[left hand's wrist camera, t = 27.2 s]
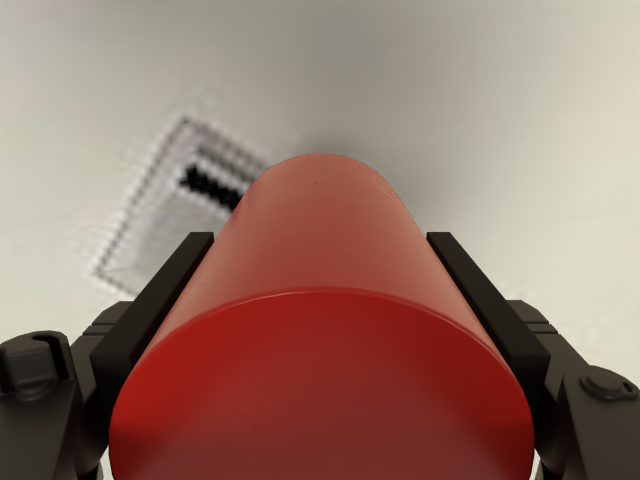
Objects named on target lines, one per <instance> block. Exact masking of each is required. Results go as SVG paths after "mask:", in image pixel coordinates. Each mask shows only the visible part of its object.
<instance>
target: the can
mask: <svg viewBox="0 0 640 480" xmlns="http://www.w3.org/2000/svg"><path fill="white" fill-rule="evenodd" d="M534 454H535V446H534V427H533V421H532V416H531V411H530V407H529V405H528V402H527V400H526V397H525V395H524V392H523V390H522V387H521V386H520V384H519V382H518V381H517V379H516V378H515V376H514V374H513V373H512V371H511V369H510V368H509V366H508V365H507V363H506V362H505V360H504V358H503V357H502V355H501V354H500V352H499V351H498V349H497V348H496V346H495V345H494V343H493V342H492V340H491V338H490V337H489V335H488V334H487V332H486V331H485V329H484V328H483V326H482V325H481V323H480V321H479V320H478V318H477V317H476V315H475V314H474V312H473V311H472V309H471V308H470V306H469V305H468V303H467V301H466V300H465V298H464V297H463V295H462V294H461V292H460V291H459V289H458V288H457V286H456V284H455V283H454V281H453V280H452V278H451V277H450V275H449V274H448V272H447V271H446V269H445V268H444V266H443V264H442V263H441V261H440V260H439V258H438V257H437V255H436V254H435V252H434V251H433V249H432V247H431V246H430V244H429V243H428V241H427V240H426V238H425V237H424V235H423V234H422V232H421V231H420V229H419V227H418V226H417V224H416V223H415V221H414V220H413V218H412V217H411V215H410V214H409V212H408V210H407V209H406V207H405V206H404V204H403V203H402V201H401V200H400V198H399V197H398V195H397V194H396V192H395V190H394V189H393V188H392V187H391V186H390V184H389V183H388V182H387V181H386V180H385V179H384V178H383V177H382V176H381V175H380V174H378V173H377V172H376V171H374V170H373V169H371V168H370V167H368V166H366V165H364V164H362V163H360V162H358V161H356V160H353V159H350V158H347V157H344V156H339V155H334V154H308V155H303V156H298V157H294V158H291V159H288V160H285V161H283V162H281V163H279V164H277V165H275V166H273V167H272V168H270V169H269V170H267V171H266V172H264V173H263V174H262V175H261V176H260V177H259V178H258V179H256V180H255V181H254V183H253V184H252V185H251V186H250V187H249V189H248V190H247V191H246V193H245V194H244V196H243V197H242V199H241V201H240V202H239V204H238V205H237V207H236V208H235V210H234V212H233V213H232V215H231V216H230V218H229V219H228V221H227V222H226V224H225V226H224V227H223V229H222V230H221V232H220V233H219V235H218V237H217V238H216V240H215V241H214V243H213V244H212V246H211V248H210V249H209V251H208V252H207V254H206V255H205V257H204V259H203V260H202V262H201V263H200V265H199V266H198V268H197V269H196V271H195V273H194V274H193V276H192V277H191V279H190V280H189V282H188V284H187V285H186V287H185V288H184V290H183V291H182V293H181V295H180V296H179V298H178V299H177V301H176V302H175V304H174V305H173V307H172V309H171V310H170V312H169V313H168V315H167V316H166V318H165V320H164V321H163V323H162V324H161V326H160V327H159V329H158V331H157V332H156V334H155V335H154V337H153V338H152V340H151V341H150V343H149V345H148V346H147V348H146V349H145V351H144V352H143V354H142V356H141V357H140V359H139V360H138V362H137V363H136V365H135V367H134V368H133V370H132V371H131V373H130V375H129V376H128V378H127V380H126V381H125V383H124V384H123V386H122V388H121V390H120V393H119V395H118V398H117V400H116V403H115V405H114V408H113V412H112V417H111V422H110V427H109V460H110V466H111V471H112V476H113V479H114V480H529V479H530V476H531V472H532V466H533V460H534Z"/></svg>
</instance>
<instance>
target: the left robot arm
mask: <svg viewBox="0 0 640 480" xmlns="http://www.w3.org/2000/svg"><path fill="white" fill-rule="evenodd" d="M426 240H427V241H428V243H429V244H430V246H431V247H432V249H433V251H434V252H435V254H436V255H437V257H438V258H439V260H440V261H441V263H442V264H443V266H444V268H445V269H446V271H447V272H448V274H449V275H450V277H451V278H452V280H453V281H454V283H455V284H456V286H457V288H458V289H459V291H460V292H461V294H462V295H463V297H464V298H465V300H466V301H467V303H468V305H469V306H470V308H471V309H472V311H473V312H474V314H475V315H476V317H477V318H478V320H479V321H480V323H481V325H482V326H483V328H484V329H485V331H486V332H487V334H488V335H489V337H490V338H491V340H492V342H493V343H494V345H495V346H496V348H497V349H498V351H499V352H500V354H501V355H502V357H503V358H504V360H505V362H506V363H507V365H508V366H509V368H510V369H511V371H512V373H513V374H514V376H515V378H516V379H517V381H518V382H519V384H520V386H521V387H522V390H523V392H524V395H525V397H526V400H527V402H528V405H529V407H530V411H531V416H532V421H533V427H534V446H535V449H536V451H537V453H538V454H539V456H540V462H539V465H538V469H537V473H536V476H535V480H640V390H639V389H638V387H637V386H636V385H634V384H633V383H632V382H630V381H629V380H628V379H626V378H625V377H623V376H621V375H619V374H617V373H615V372H613V371H611V370H608V369H604V368H601V367H598V366H593V365H589V364H588V363H587V362H586V361H585V360H584V359H583V358H582V357H581V356H580V355H579V354H578V353H577V352H576V350H575V349H574V348H573V347H572V346H571V345H570V344H569V343H568V342H567V341H566V340H565V339H564V338H563V336H562V335H561V334H558V331H557V330H556V329H555V328H554V327H553V326H552V325H551V324H549V321H548V320H547V319H546V318H545V317H544V316H543V315H542V314H541V313H540V312H539V311H538V310H537V309H535V308H534V307H532V306H530V305H529V304H527V303H525V302H523V301H522V300H505V298H504V297H503V296H502V295H501V294H500V292H499V291H498V290H497V289H496V288H495V286H494V285H493V284H492V283H491V282H490V280H489V279H488V278H487V277H486V275H485V274H484V273H483V272H482V271H481V269H480V268H479V267H478V266H477V265H476V263H475V262H474V261H473V260H472V259H471V257H470V256H469V255H468V254H467V253H466V251H465V250H464V249H463V248H462V247H461V245H460V244H459V243H458V242H457V240H456V239H455V238H454V237H453V236H452V234H451V233H450V232H427V236H426ZM213 243H214V234H213V232H190V234H189V235H188V236H187V237H186V238H185V240H184V241H183V242H182V243H181V244H180V246H179V247H178V248H177V249H176V250H175V252H174V253H173V254H172V255H171V257H170V258H169V259H168V260H167V261H166V263H165V264H164V265H163V266H162V267H161V269H160V270H159V271H158V272H157V273H156V275H155V276H154V277H153V278H152V279H151V281H150V282H149V283H148V284H147V285H146V287H145V288H144V289H143V290H142V292H141V293H140V294H139V295H138V296H137V298H136V299H135V300H134V301H119V302H118V303H116V304H114V305H113V306H111V307H109V308H108V309H106V310H104V311H103V312H102V313H101V314H100V315H99V316H98V317H97V318H96V319H95V320H94V321H93V322H92V326H89V327H88V328H87V329H86V330H85V331H84V332H83V335H82V336H80V337H79V338H78V339H77V340H76V341H75V342H74V343H73V344H72V345H71V346H69V343H68V339H67V336H65V335H64V334H63V333H61V332H57V331H50V330H48V331H36V332H32V333H28V334H24V335H20V336H17V337H15V338H13V339H10V340H8V341H5V342H3V343H2V344H0V480H103V477H104V476H103V470H102V465H101V462H100V459H101V457H102V455H103V454H104V452H105V450H106V448H107V447H108V445H109V427H110V422H111V417H112V412H113V408H114V405H115V403H116V400H117V398H118V395H119V393H120V390H121V388H122V386H123V384H124V383H125V381H126V380H127V378H128V376H129V375H130V373H131V371H132V370H133V368H134V367H135V365H136V363H137V362H138V360H139V359H140V357H141V356H142V354H143V352H144V351H145V349H146V348H147V346H148V345H149V343H150V341H151V340H152V338H153V337H154V335H155V334H156V332H157V331H158V329H159V327H160V326H161V324H162V323H163V321H164V320H165V318H166V316H167V315H168V313H169V312H170V310H171V309H172V307H173V305H174V304H175V302H176V301H177V299H178V298H179V296H180V295H181V293H182V291H183V290H184V288H185V287H186V285H187V284H188V282H189V280H190V279H191V277H192V276H193V274H194V273H195V271H196V269H197V268H198V266H199V265H200V263H201V262H202V260H203V259H204V257H205V255H206V254H207V252H208V251H209V249H210V248H211V246H212V244H213Z"/></svg>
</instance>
